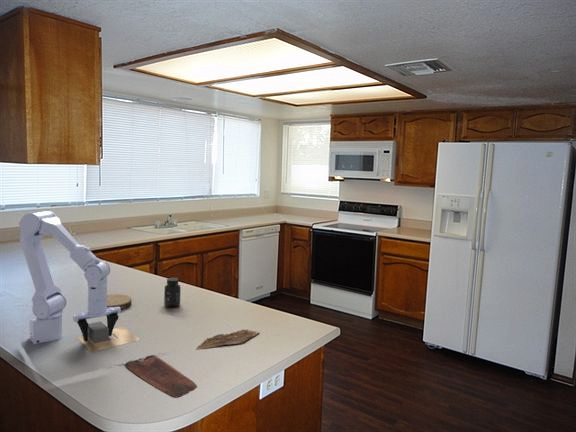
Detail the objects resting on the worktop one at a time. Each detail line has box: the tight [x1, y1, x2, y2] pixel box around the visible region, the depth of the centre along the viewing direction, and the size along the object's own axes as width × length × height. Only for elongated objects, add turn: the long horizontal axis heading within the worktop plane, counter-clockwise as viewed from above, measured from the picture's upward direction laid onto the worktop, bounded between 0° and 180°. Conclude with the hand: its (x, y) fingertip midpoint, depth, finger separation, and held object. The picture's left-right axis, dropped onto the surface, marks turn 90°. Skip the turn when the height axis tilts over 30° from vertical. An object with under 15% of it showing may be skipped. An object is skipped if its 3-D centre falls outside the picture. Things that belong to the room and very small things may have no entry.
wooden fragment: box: [195, 329, 260, 350], centre depth 150 cm, size 26×11×1 cm, turn 126°
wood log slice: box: [107, 293, 132, 311], centre depth 180 cm, size 16×16×3 cm
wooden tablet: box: [125, 354, 198, 398], centre depth 122 cm, size 26×2×10 cm
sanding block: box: [88, 321, 109, 346], centre depth 140 cm, size 4×8×5 cm, turn 42°
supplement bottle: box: [163, 277, 181, 309], centre depth 183 cm, size 7×7×12 cm
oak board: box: [76, 326, 141, 353], centre depth 143 cm, size 16×15×2 cm
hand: (97, 337), depth 140 cm, fingers open, 7 cm apart
